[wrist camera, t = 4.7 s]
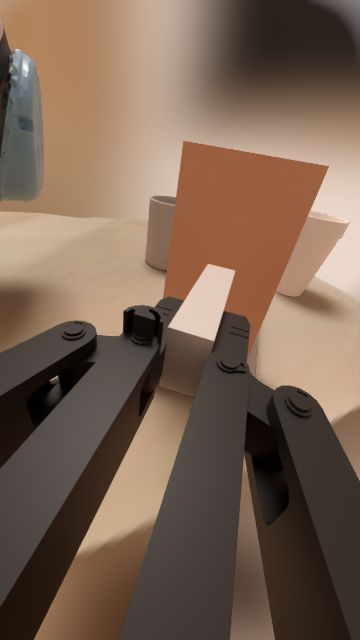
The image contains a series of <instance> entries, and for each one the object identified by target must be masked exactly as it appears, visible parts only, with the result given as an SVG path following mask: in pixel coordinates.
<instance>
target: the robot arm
mask: <svg viewBox="0 0 360 640" xmlns="http://www.w3.org/2000/svg"><path fill="white" fill-rule="evenodd" d="M40 94H41V93H40V84H39V78H38V75H37V68H36V65H35V63H34V61H33V60H32V59H31V58H30V57H28V56H26V55H24V54H23V53H22V52H21V51H19V50H18V49H15V51H11V50H10V48H9V45H8V41H7V38H6V34H5V31H4V27H3V23H2V19H1V17H0V202H1V201H22V202H28V201H32V200H34V199H36V198H37V197H38V196H39V194H40V193H41V190H42V185H43V170H44V169H43V167H44V165H43V164H44V149H43V148H44V147H43V121H42V106H41V95H40ZM234 274H235V270H231V269H227V268H223V267H219V266H215V265H211V264H208V265H207V266H206V268H205V269H204V271H203V273H202V274H201V276H200V277H199V279H198V280H197V282H196V283H195V285H194V287H193V288H192V290H191V291H190V293H189V294H188V296H187V298H186V299H185V301H184V300H180V299H177V298H173V297H170V296H168V297H166V298H164V299H162V300H160V301H159V303H158V304H157V305H156V307H154V308H153V307H150V306H144V305H141V306H133V307H129V308H127V309H126V310H124V317H123V333H122V334H121V335H120V336H103V335H97V333H96V329H95V327H94V326H93V325H92V324H90V323H88V322H85V321H69V322H65V323H62V324H59V325H57V326H55V327H53V328H51V329H49V330H47V331H45V332H43V333H41V334H39V335H37V336H35V337H33V338H31V339H28V340H26V341H24V342H22V343H20V344H18V345H16V346H14V347H12V348H10V349H8V350H6V351H4V352H2V353H0V640H34V638H35V636H36V634H37V632H38V630H39V628H40V626H41V624H42V622H43V620H44V618H45V616H46V614H47V612H48V610H49V608H50V605H51V604H52V602H53V600H54V598H55V596H56V594H57V592H58V589H59V588H60V586H61V583H62V581H63V579H64V577H65V575H66V573H67V571H68V569H69V567H70V565H71V563H72V561H73V559H74V557H75V555H76V553H77V551H78V549H79V547H80V545H81V543H82V541H83V539H84V537H85V535H86V533H87V531H88V529H89V527H90V525H91V523H92V521H93V519H94V517H95V515H96V513H97V511H98V509H99V507H100V505H101V503H102V501H103V499H104V497H105V495H106V493H107V491H108V489H109V487H110V485H111V483H112V480H113V478H114V476H115V474H116V472H117V470H118V468H119V466H120V464H121V462H122V460H123V458H124V456H125V454H126V452H127V450H128V448H129V446H130V444H131V442H132V440H133V438H134V436H135V434H136V432H137V430H138V428H139V426H140V424H141V422H142V420H143V418H144V416H145V414H146V412H147V410H148V408H149V406H150V404H151V402H152V400H153V398H154V394H155V387H156V385H157V383H158V381H159V379H160V383H159V386H161V387H164V388H167V389H170V390H173V391H175V392H178V393H181V394H184V395H187V396H190V397H193V398H195V399H194V402H193V405H192V409H191V412H190V415H189V418H188V421H187V424H186V428H185V431H184V434H183V437H182V440H181V443H180V447H179V450H178V453H177V456H176V459H175V462H174V466H173V469H172V472H171V475H170V478H169V481H168V485H167V488H166V491H165V494H164V497H163V500H162V504H161V507H160V510H159V513H158V516H157V519H156V523H155V526H154V529H153V532H152V535H151V539H150V542H149V545H148V548H147V551H146V554H145V557H144V561H143V564H142V567H141V570H140V573H139V576H138V580H137V583H136V586H135V589H134V592H133V595H132V599H131V602H130V605H129V608H128V611H127V614H126V618H125V621H124V624H123V627H122V630H121V633H120V636H119V640H230V629H231V616H232V602H233V589H234V576H235V563H236V562H235V561H236V549H237V536H238V522H239V510H240V496H241V484H242V471H243V458H244V454H245V460H246V466H247V472H248V478H249V484H250V490H251V496H252V502H253V508H254V514H255V521H256V527H257V532H258V539H259V544H260V550H261V557H262V563H263V569H264V575H265V581H266V587H267V593H268V599H269V605H270V611H271V617H272V623H273V630H274V636H275V640H360V481H359V479H358V477H357V475H356V473H355V471H354V469H353V467H352V466H351V463H350V462H349V460H348V458H347V456H346V454H345V452H344V450H343V448H342V446H341V444H340V442H339V440H338V438H337V436H336V434H335V433H334V430H333V428H332V426H331V425H330V423H329V421H328V419H327V417H326V415H325V413H324V411H323V409H322V407H321V406H320V405H319V403H318V402H317V400H315V399H314V398H313V397H312V396H311V395H310V394H308V393H307V392H305V391H303V390H301V389H300V388H296V387H293V386H280V387H278V388H276V390H273V389H271V388H269V387H268V386H266V385H264V384H263V383H261V382H260V381H258V380H257V379H256V378H255V377H254V376H253V375H252V374H251V372H250V369H249V365H248V364H247V355H248V344H249V332H250V323H249V321H248V319H247V318H246V317H245V316H241V315H237V314H234V313H230V312H227V311H224V308H225V305H226V301H227V298H228V295H229V291H230V288H231V284H232V281H233V277H234ZM57 375H58V378H57V379H55V380H52V381H50V380H51V379H53V378H54V377H56V376H57Z"/></svg>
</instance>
